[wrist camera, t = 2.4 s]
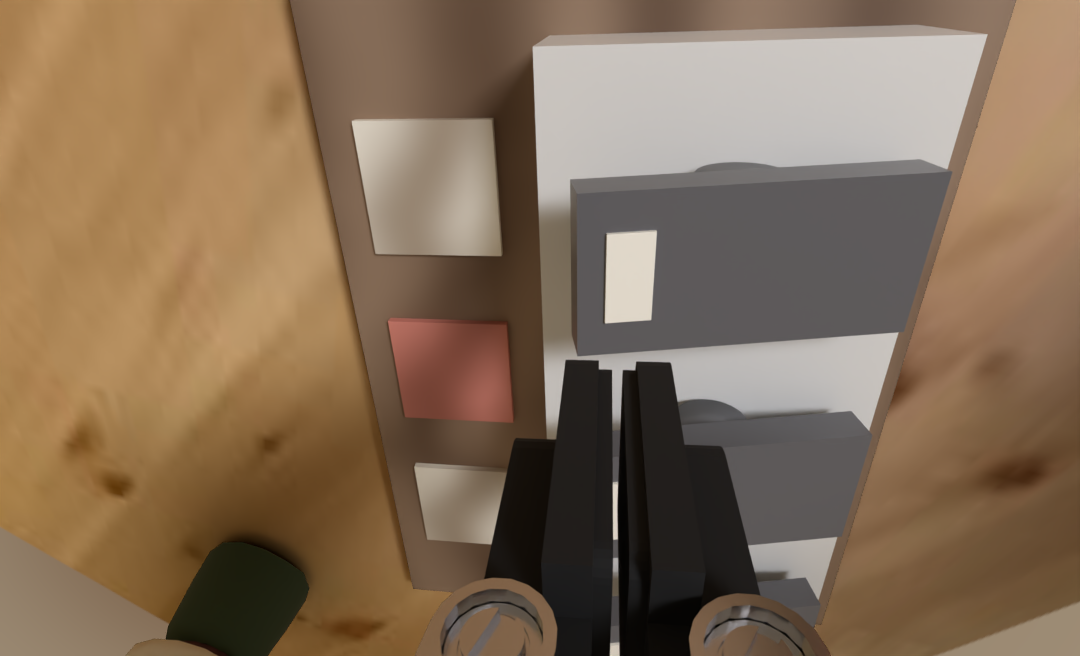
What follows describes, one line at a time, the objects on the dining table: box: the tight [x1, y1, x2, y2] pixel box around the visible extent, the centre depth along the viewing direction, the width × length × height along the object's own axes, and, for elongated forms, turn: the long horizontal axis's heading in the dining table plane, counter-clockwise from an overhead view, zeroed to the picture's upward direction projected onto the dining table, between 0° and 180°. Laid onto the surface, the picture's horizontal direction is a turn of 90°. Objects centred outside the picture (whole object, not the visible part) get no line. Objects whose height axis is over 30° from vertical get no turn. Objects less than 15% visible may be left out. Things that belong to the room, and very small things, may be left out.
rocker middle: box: [612, 399, 872, 558], centre depth 20 cm, size 9×4×3 cm, turn 92°
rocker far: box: [610, 577, 821, 656], centre depth 24 cm, size 9×4×3 cm, turn 92°
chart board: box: [290, 0, 1016, 625], centre depth 26 cm, size 22×30×2 cm
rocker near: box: [570, 159, 953, 356], centre depth 16 cm, size 9×4×3 cm, turn 92°
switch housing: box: [533, 25, 988, 600], centre depth 23 cm, size 11×26×4 cm, turn 2°
